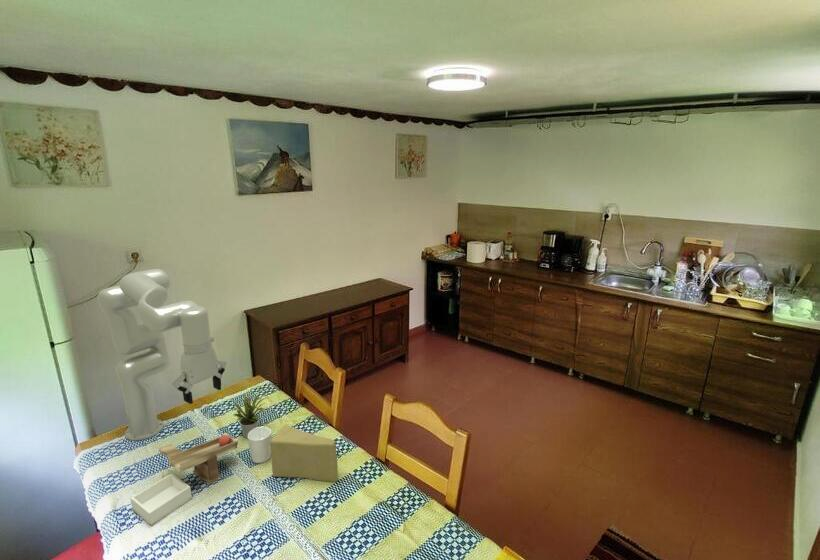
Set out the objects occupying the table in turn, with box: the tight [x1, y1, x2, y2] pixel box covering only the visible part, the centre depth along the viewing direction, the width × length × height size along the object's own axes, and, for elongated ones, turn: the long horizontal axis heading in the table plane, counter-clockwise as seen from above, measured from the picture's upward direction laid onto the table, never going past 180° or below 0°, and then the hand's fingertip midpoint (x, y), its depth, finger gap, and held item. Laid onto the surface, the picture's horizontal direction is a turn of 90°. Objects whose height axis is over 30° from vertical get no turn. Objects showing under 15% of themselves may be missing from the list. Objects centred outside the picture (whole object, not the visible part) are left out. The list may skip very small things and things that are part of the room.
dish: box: [130, 473, 193, 527], centre depth 125 cm, size 11×12×4 cm
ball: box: [219, 435, 230, 446], centre depth 142 cm, size 4×4×4 cm
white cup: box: [247, 426, 272, 464], centre depth 146 cm, size 8×8×10 cm
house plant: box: [229, 391, 269, 439], centre depth 157 cm, size 14×14×16 cm
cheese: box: [270, 424, 339, 483], centre depth 138 cm, size 22×10×15 cm, turn 75°
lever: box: [158, 432, 239, 472], centre depth 138 cm, size 16×20×4 cm
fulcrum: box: [192, 455, 222, 485], centre depth 137 cm, size 10×4×9 cm, turn 59°
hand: (203, 395), depth 129 cm, fingers open, 9 cm apart
